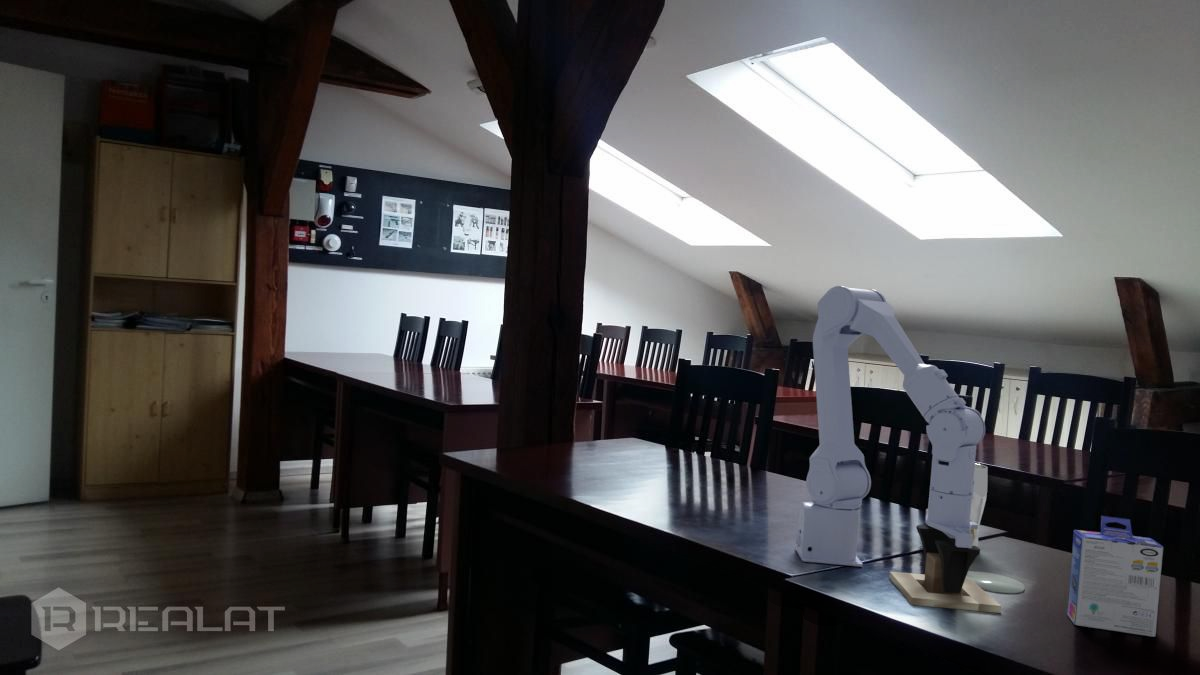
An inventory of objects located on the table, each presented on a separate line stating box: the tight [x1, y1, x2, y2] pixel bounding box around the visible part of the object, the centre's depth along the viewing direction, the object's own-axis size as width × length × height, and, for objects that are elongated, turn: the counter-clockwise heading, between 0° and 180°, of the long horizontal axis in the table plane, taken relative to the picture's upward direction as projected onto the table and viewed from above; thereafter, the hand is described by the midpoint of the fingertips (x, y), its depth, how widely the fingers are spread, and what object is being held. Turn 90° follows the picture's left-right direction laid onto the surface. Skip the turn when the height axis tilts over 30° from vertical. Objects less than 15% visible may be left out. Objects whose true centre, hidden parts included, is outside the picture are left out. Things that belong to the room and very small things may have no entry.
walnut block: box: [923, 553, 962, 596], centre depth 124 cm, size 4×4×6 cm
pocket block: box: [888, 570, 1002, 614], centre depth 124 cm, size 12×12×1 cm
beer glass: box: [970, 462, 989, 549], centre depth 151 cm, size 7×7×15 cm
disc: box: [966, 571, 1025, 594], centre depth 132 cm, size 9×9×1 cm
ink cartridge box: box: [1067, 515, 1164, 638], centre depth 116 cm, size 10×6×14 cm, turn 74°
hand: (942, 583), depth 124 cm, fingers open, 7 cm apart
